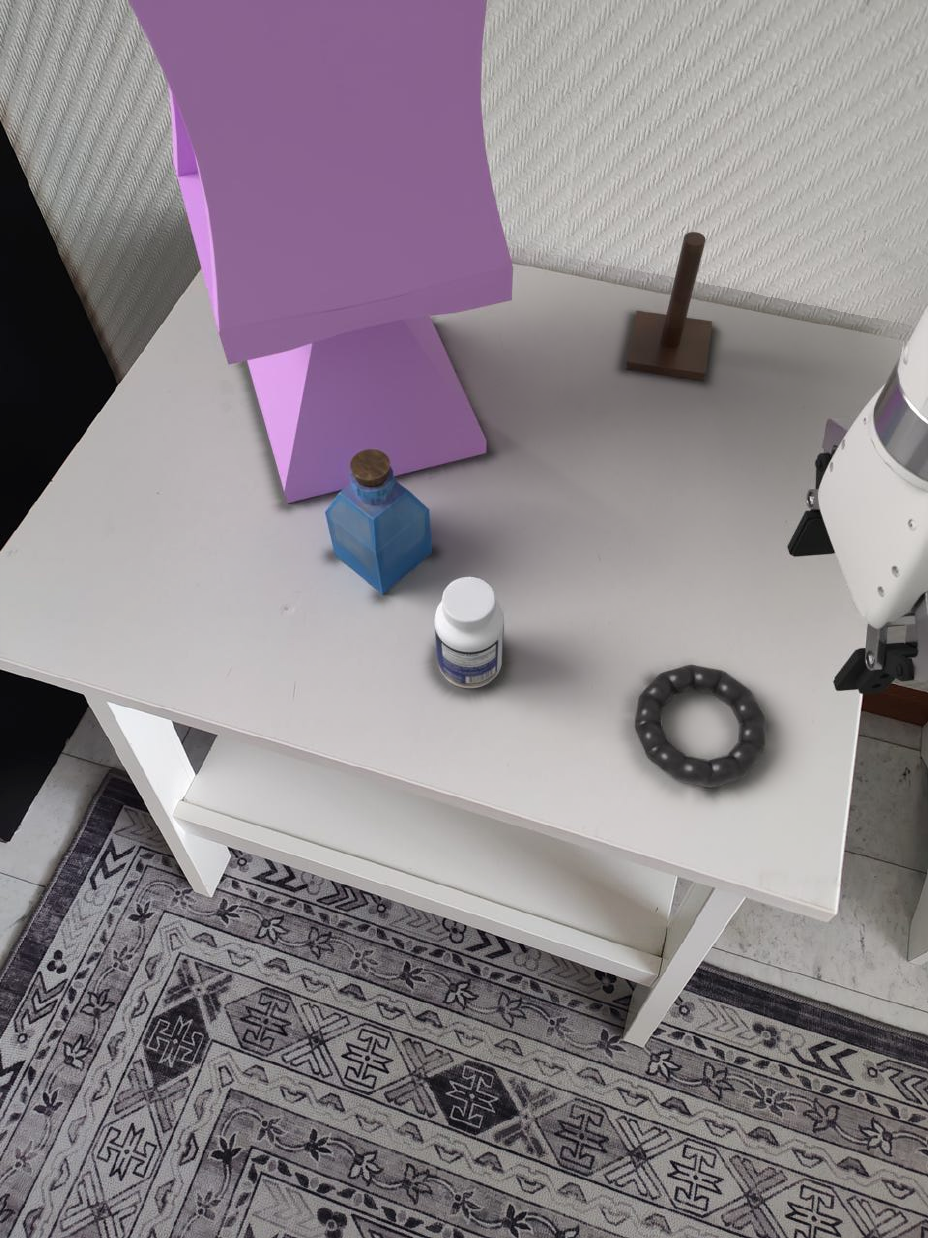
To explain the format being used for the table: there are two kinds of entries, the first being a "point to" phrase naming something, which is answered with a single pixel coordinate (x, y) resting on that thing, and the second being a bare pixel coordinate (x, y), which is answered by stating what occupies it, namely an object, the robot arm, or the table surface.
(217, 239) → the purple table lamp
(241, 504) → the table surface
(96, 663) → the table surface
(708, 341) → the stand
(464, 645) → the pill bottle
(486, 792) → the table surface
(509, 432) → the table surface
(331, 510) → the perfume bottle
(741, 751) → the ring
